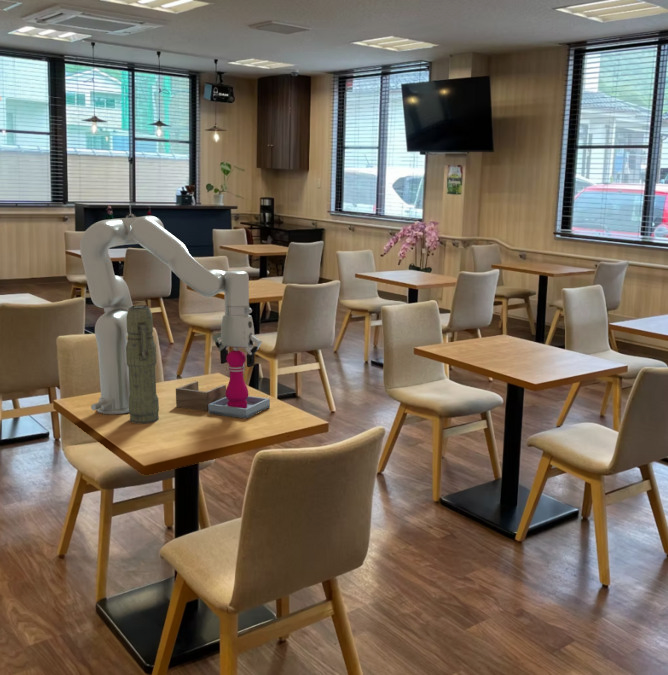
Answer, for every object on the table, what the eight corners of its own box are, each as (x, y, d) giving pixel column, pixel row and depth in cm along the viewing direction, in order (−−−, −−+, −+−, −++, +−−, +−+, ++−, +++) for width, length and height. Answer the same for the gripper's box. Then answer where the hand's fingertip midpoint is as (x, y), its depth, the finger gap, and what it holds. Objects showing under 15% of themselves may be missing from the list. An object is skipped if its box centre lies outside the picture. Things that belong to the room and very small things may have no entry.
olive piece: (152, 412, 254) (147, 302, 247) (164, 422, 244) (159, 307, 237) (124, 416, 249) (118, 305, 243) (135, 426, 239) (130, 310, 233)
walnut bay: (207, 411, 255) (206, 392, 254) (176, 406, 261) (175, 388, 260) (226, 402, 265) (225, 385, 264) (196, 398, 270) (195, 381, 269)
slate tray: (246, 418, 247) (246, 409, 246) (208, 413, 253) (208, 404, 252) (269, 407, 259) (269, 398, 259) (233, 402, 265) (232, 393, 265)
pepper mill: (221, 408, 254) (219, 346, 250) (233, 403, 261) (231, 342, 257) (241, 411, 251) (240, 348, 248) (252, 405, 258) (251, 344, 254)
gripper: (267, 311, 250) (267, 365, 253) (220, 307, 257) (221, 359, 260) (254, 315, 243) (254, 370, 246) (206, 310, 250) (207, 364, 254)
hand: (237, 364), depth 253 cm, fingers open, 9 cm apart
